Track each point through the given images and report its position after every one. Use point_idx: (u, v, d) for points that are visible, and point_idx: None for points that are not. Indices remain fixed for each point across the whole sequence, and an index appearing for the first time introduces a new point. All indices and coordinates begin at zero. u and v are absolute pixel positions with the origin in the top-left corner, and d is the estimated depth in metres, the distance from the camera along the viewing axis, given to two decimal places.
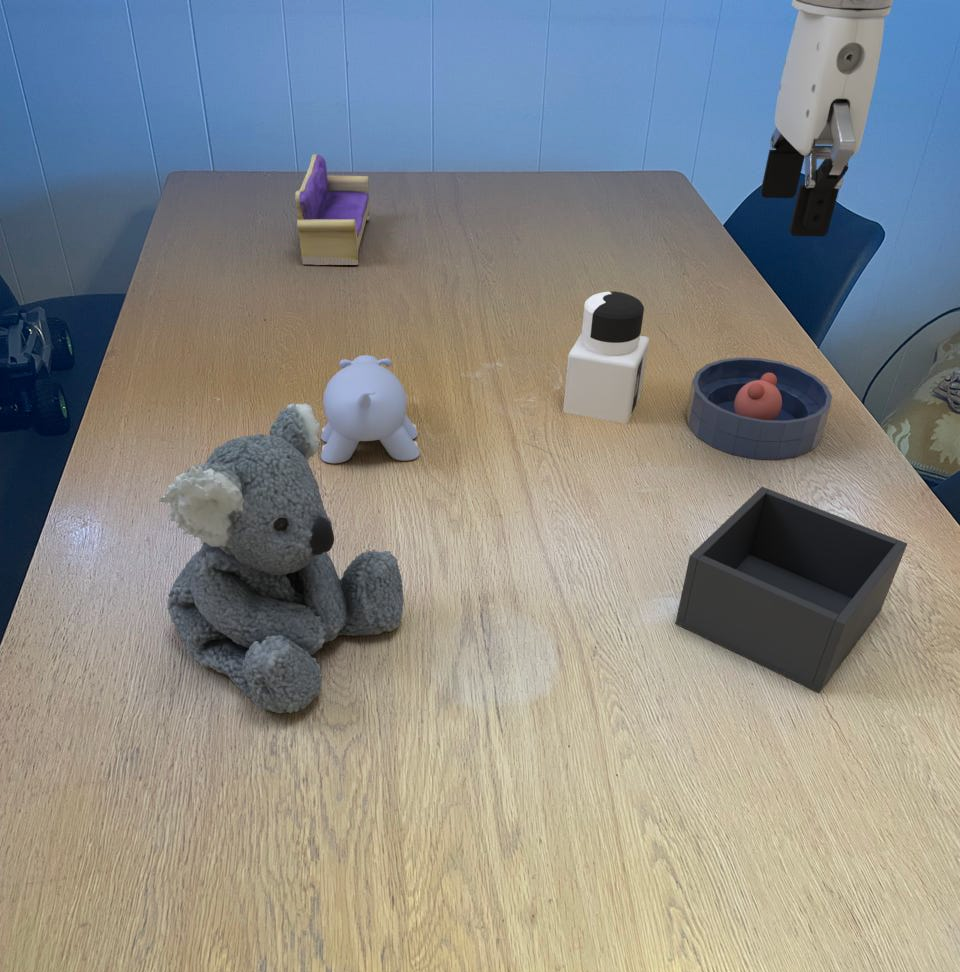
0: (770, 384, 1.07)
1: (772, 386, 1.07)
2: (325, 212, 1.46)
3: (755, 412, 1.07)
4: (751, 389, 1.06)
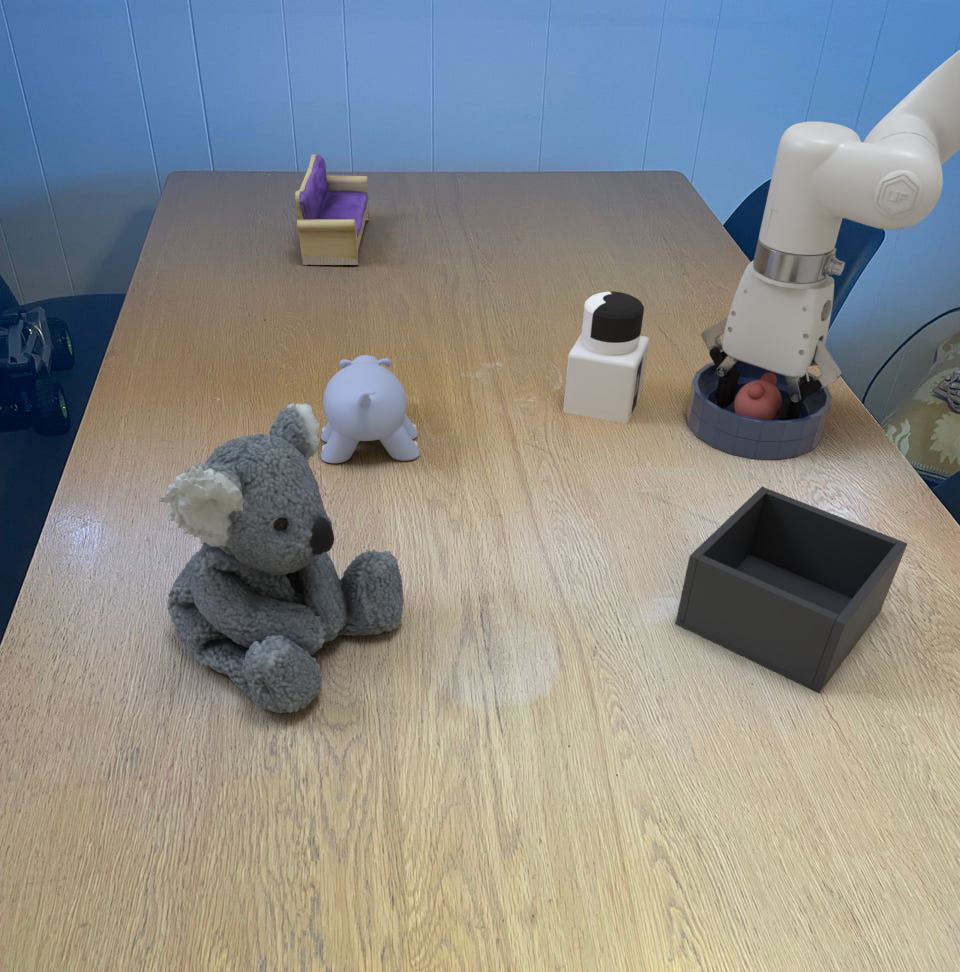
0: (770, 384, 1.07)
1: (772, 386, 1.07)
2: (325, 212, 1.46)
3: (755, 412, 1.07)
4: (751, 389, 1.06)
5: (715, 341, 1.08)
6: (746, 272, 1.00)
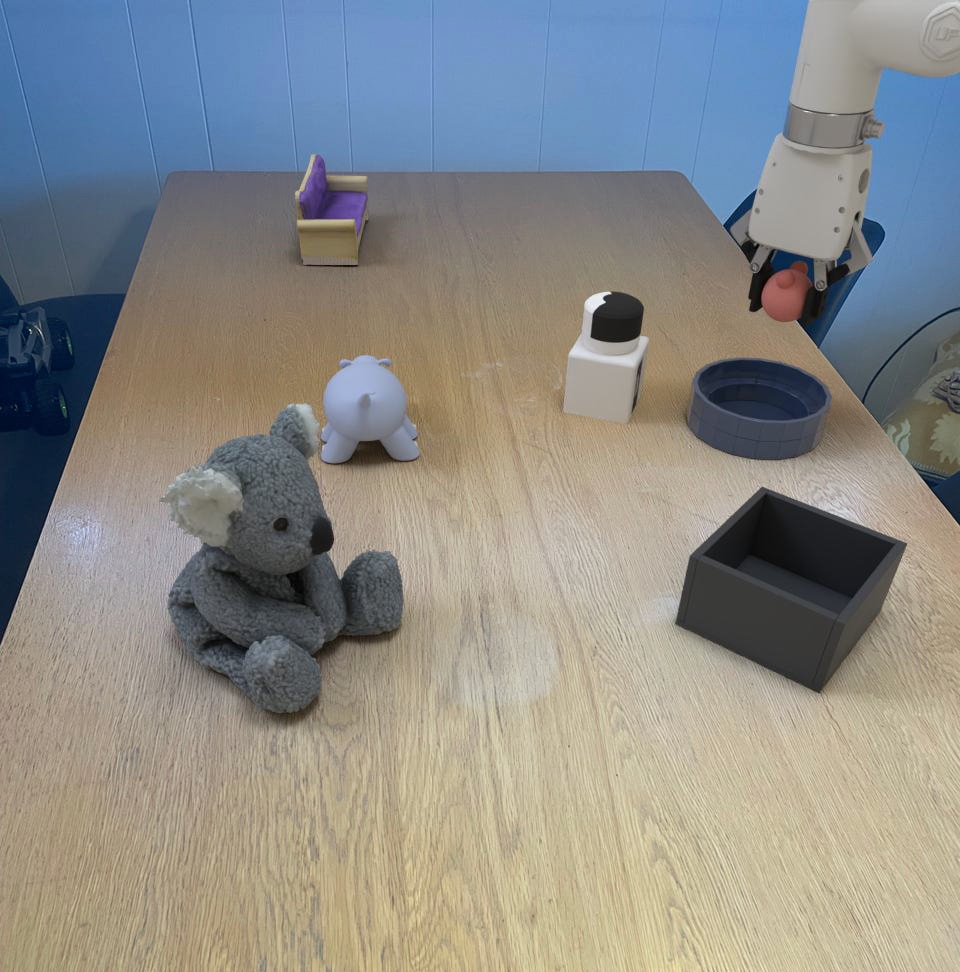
0: (801, 272, 0.99)
1: (803, 274, 0.99)
2: (324, 212, 1.46)
3: (785, 303, 0.98)
4: (780, 277, 0.97)
5: (746, 233, 0.99)
6: (775, 142, 0.91)
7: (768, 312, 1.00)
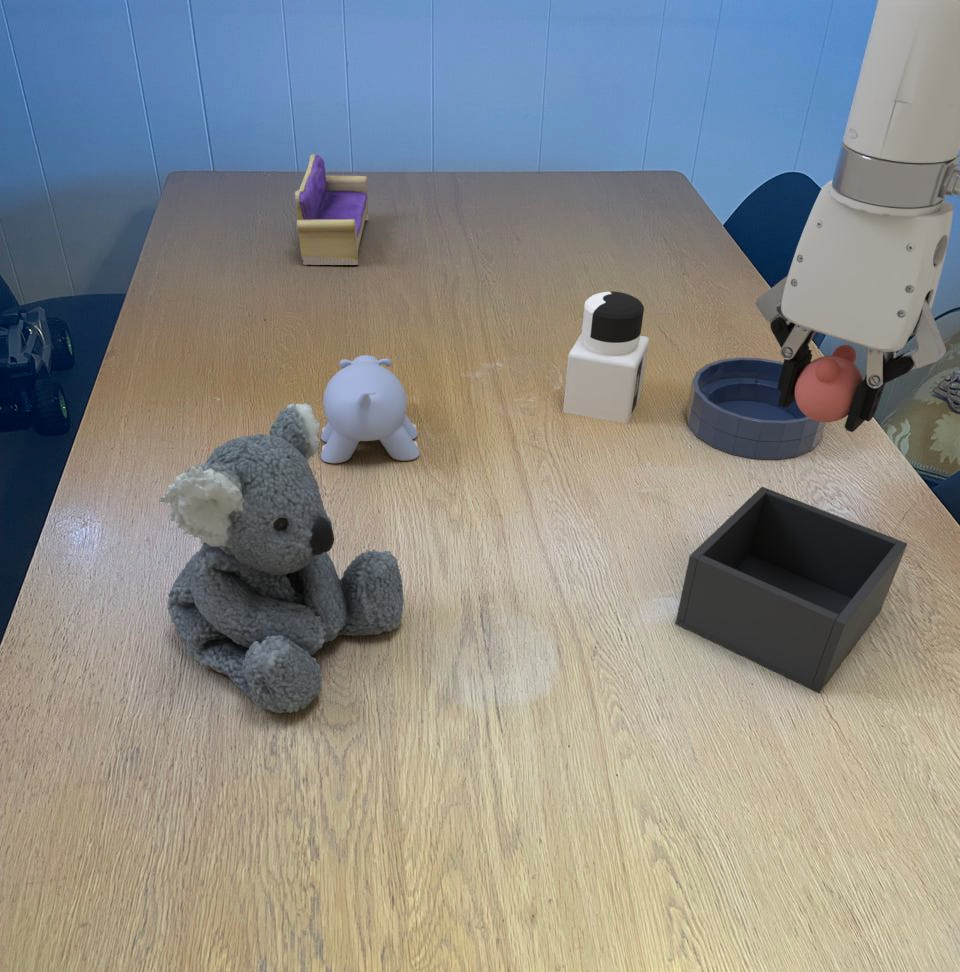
0: (847, 361, 0.76)
1: (850, 364, 0.76)
2: (324, 212, 1.46)
3: (826, 401, 0.75)
4: (821, 367, 0.74)
5: (777, 309, 0.76)
6: (821, 196, 0.68)
7: (803, 410, 0.77)
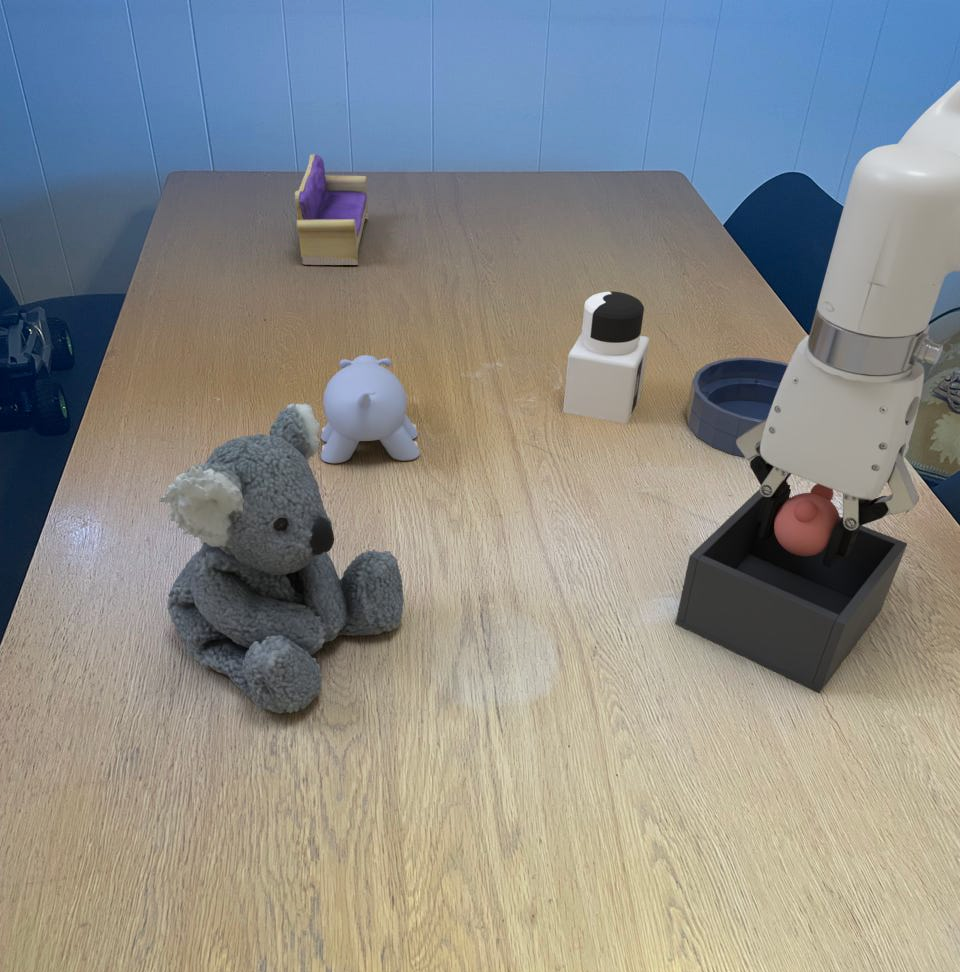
0: (825, 500, 0.78)
1: (827, 503, 0.78)
2: (324, 212, 1.46)
3: (805, 540, 0.78)
4: (799, 509, 0.77)
5: (756, 449, 0.78)
6: (797, 355, 0.70)
7: (782, 545, 0.80)
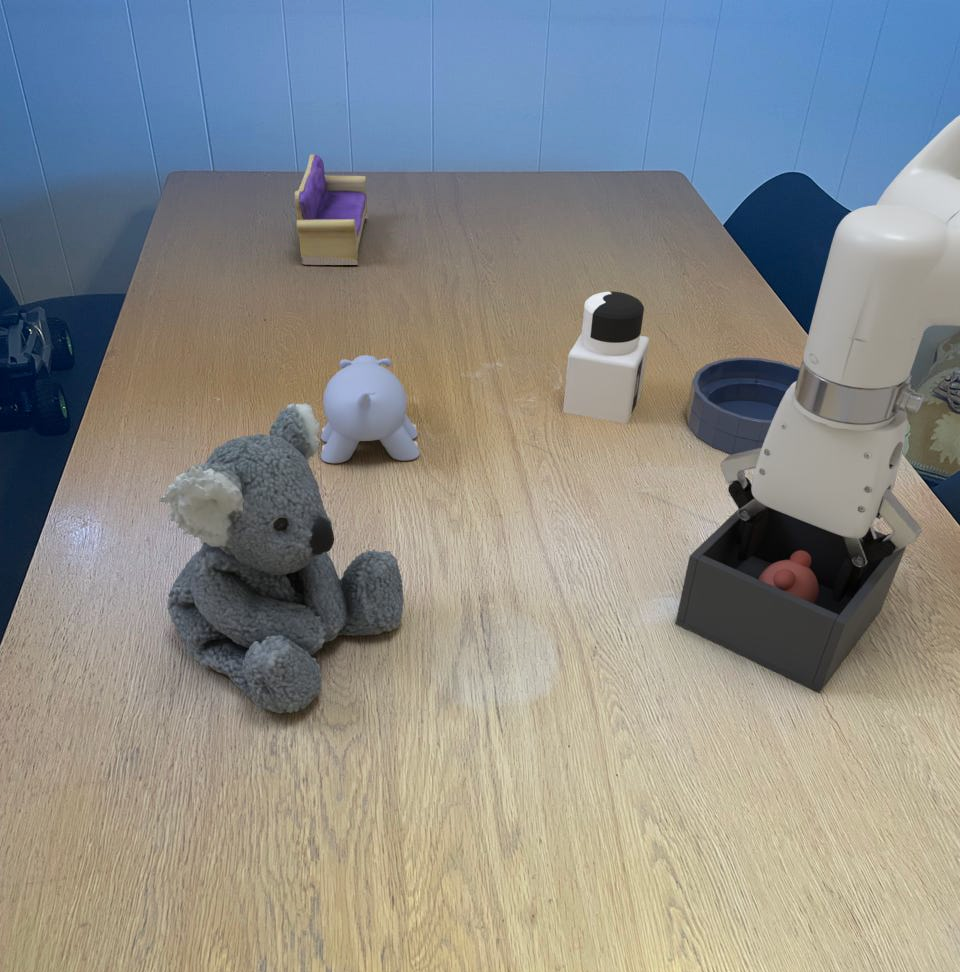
0: (803, 568, 0.83)
1: (805, 571, 0.82)
2: (324, 212, 1.46)
3: None
4: (778, 578, 0.81)
5: (737, 475, 0.81)
6: (785, 402, 0.73)
7: None
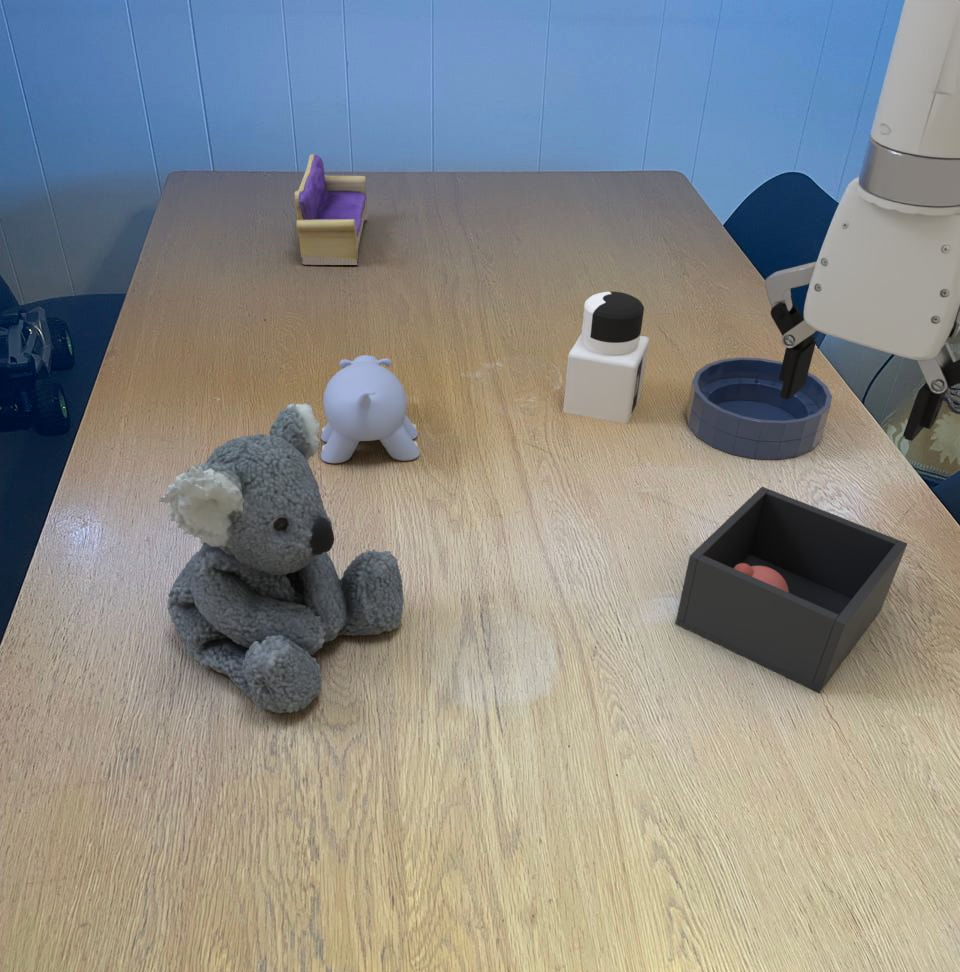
0: None
1: None
2: (324, 212, 1.46)
3: None
4: None
5: (784, 295, 0.71)
6: (847, 195, 0.63)
7: None
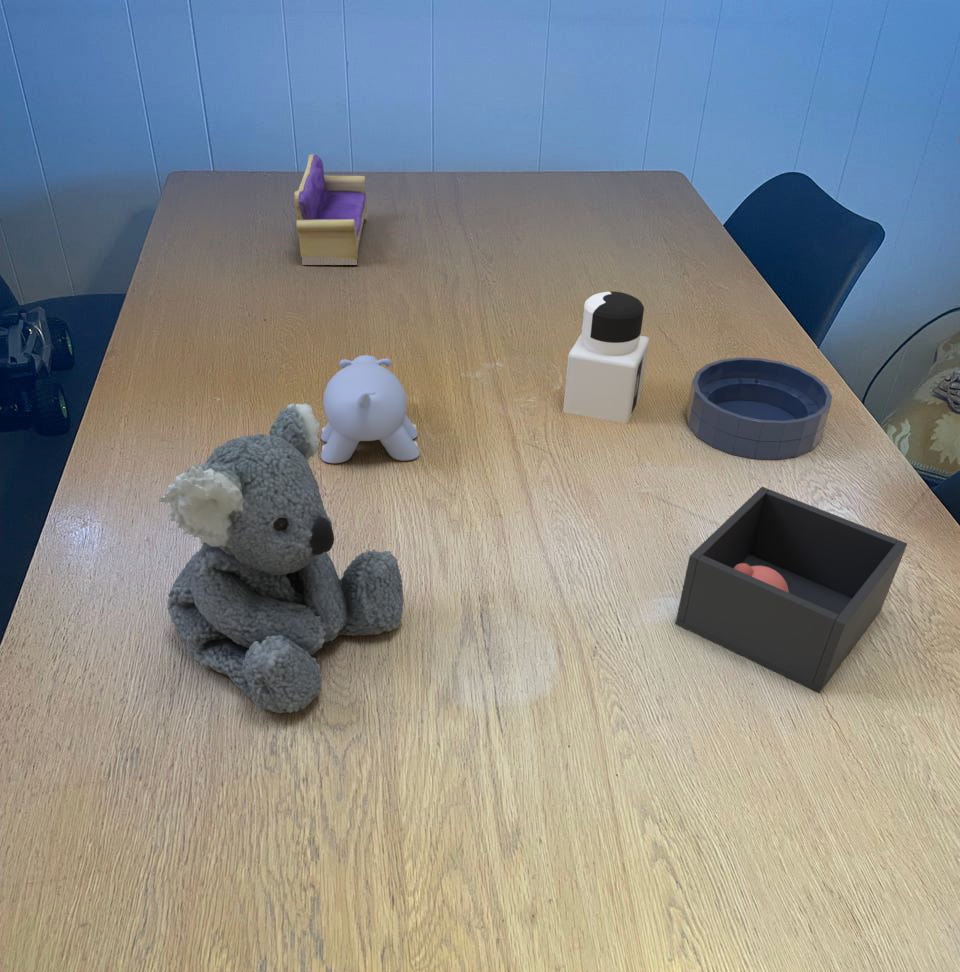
0: None
1: None
2: (323, 212, 1.46)
3: None
4: None
5: None
6: None
7: None
